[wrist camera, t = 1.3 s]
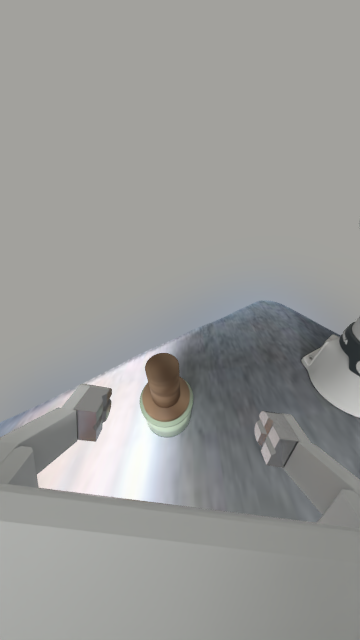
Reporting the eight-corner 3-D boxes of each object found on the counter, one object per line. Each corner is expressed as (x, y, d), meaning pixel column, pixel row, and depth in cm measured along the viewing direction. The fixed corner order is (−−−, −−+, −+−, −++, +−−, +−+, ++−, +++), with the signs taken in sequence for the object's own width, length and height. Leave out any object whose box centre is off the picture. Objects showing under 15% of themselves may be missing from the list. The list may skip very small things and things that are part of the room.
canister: (173, 382, 41) (172, 366, 38) (202, 416, 35) (204, 401, 32) (136, 408, 37) (130, 393, 33) (162, 452, 31) (158, 440, 27)
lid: (171, 369, 37) (168, 337, 31) (199, 400, 32) (202, 369, 26) (134, 393, 33) (123, 362, 27) (159, 433, 28) (152, 405, 22)
